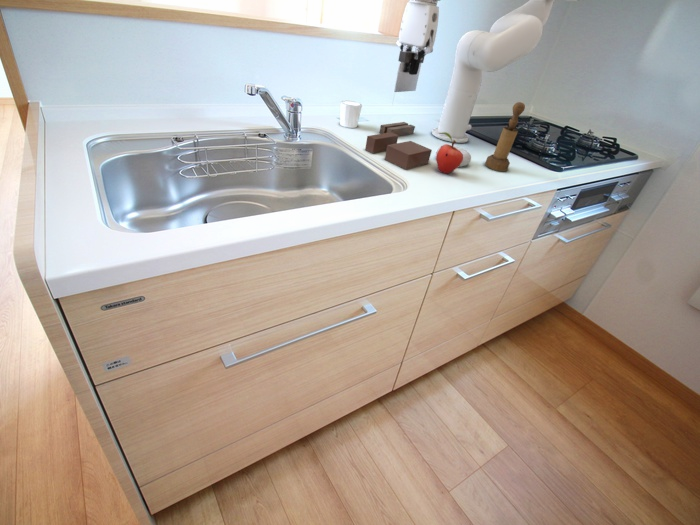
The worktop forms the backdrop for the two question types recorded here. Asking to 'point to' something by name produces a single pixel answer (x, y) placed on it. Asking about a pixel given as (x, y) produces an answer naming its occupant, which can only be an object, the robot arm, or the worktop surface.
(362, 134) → the worktop surface
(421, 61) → the dough scraper
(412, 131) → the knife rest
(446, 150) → the apple
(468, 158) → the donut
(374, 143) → the brown rectangular bar
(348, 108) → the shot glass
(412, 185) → the worktop surface
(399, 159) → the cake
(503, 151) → the mortar and pestle
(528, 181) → the worktop surface
